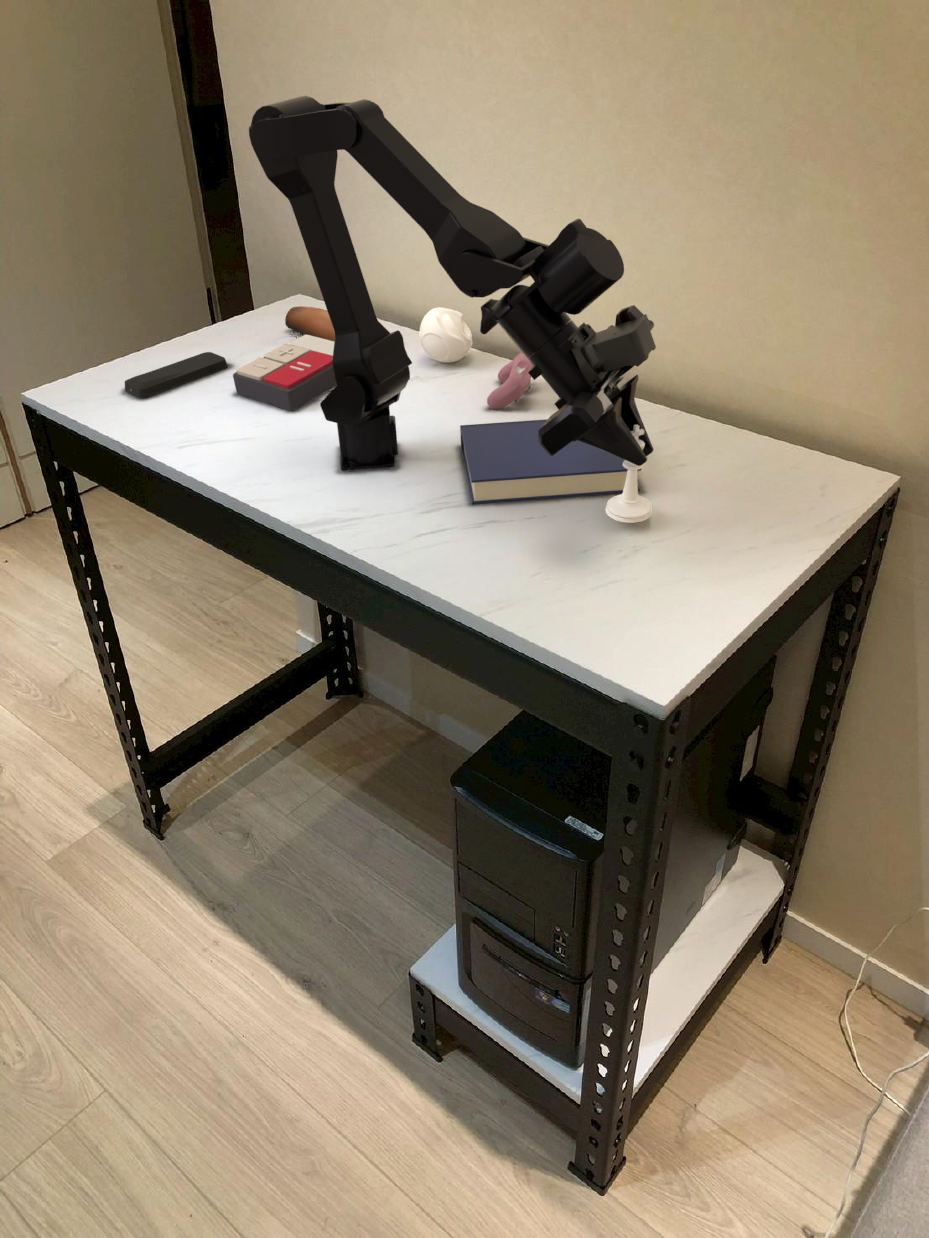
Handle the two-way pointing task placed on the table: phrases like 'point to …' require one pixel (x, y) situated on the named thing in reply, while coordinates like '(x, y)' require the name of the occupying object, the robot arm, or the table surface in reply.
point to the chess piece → (630, 493)
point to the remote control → (174, 374)
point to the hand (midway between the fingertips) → (646, 458)
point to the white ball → (445, 335)
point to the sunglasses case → (310, 322)
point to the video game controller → (511, 382)
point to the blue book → (533, 465)
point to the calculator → (289, 373)
